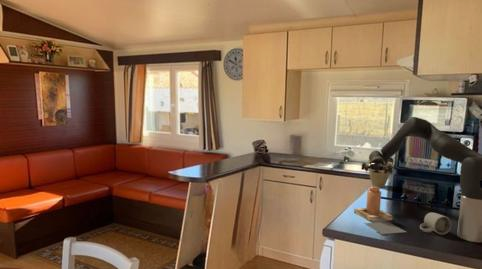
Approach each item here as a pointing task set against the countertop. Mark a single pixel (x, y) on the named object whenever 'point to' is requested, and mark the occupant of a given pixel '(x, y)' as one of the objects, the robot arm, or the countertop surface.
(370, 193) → the peach capped cylinder
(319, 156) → the countertop surface
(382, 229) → the mat
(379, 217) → the holder
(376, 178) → the plant pot
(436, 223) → the ceramic mug
